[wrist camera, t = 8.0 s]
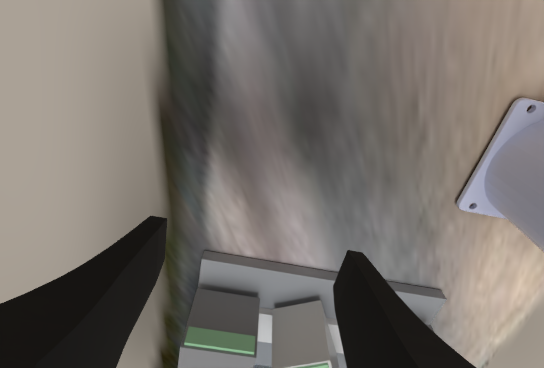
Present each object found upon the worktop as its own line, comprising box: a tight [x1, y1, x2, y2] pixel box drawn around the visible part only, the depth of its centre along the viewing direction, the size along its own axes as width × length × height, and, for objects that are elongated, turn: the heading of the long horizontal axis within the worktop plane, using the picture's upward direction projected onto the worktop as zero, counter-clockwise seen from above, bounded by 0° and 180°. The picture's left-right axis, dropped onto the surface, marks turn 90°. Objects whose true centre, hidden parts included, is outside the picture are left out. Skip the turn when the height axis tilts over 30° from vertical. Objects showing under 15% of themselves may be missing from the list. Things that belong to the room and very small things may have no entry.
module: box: [272, 300, 339, 368], centre depth 25 cm, size 4×7×5 cm, turn 16°
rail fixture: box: [178, 250, 447, 368], centre depth 26 cm, size 20×12×7 cm, turn 78°
